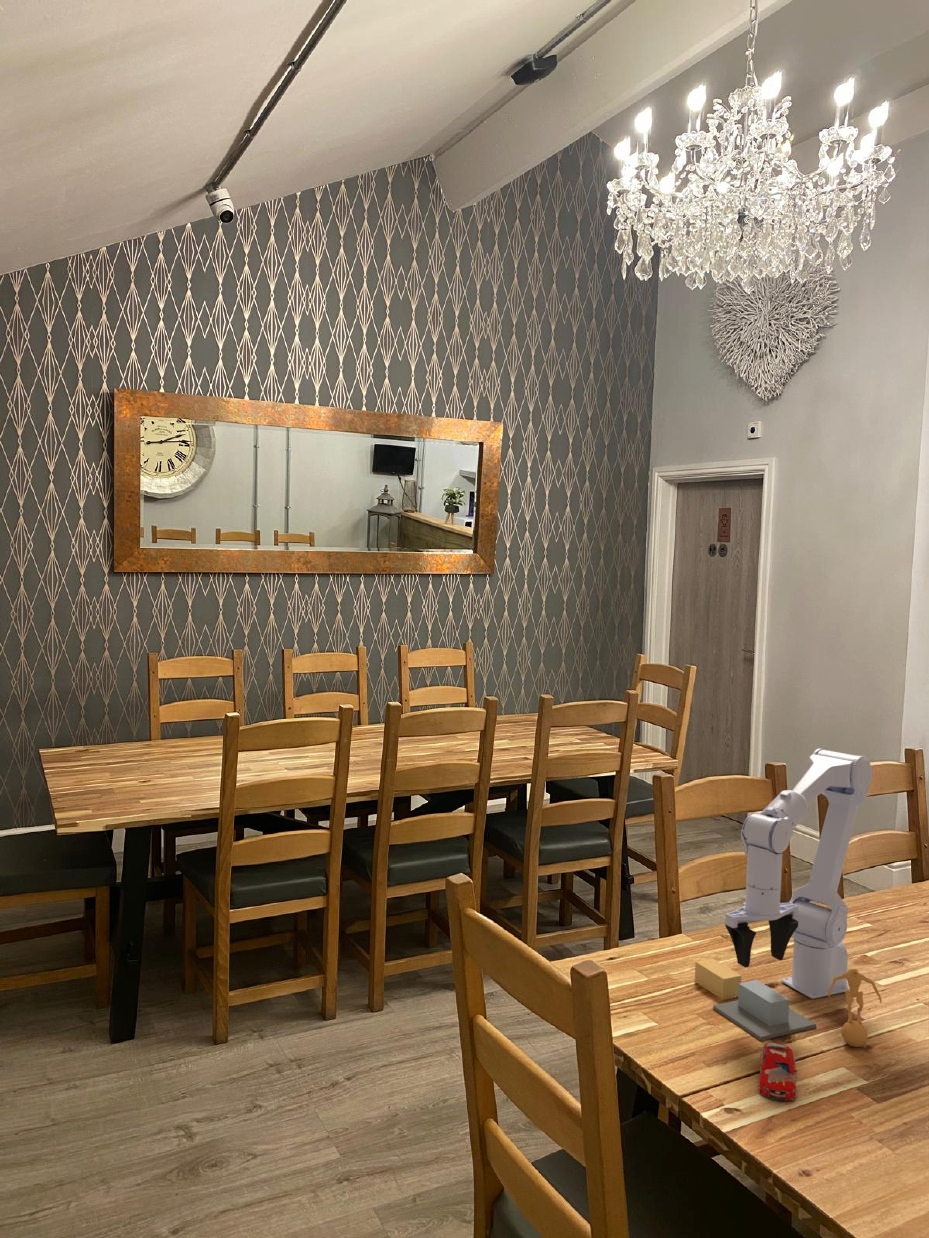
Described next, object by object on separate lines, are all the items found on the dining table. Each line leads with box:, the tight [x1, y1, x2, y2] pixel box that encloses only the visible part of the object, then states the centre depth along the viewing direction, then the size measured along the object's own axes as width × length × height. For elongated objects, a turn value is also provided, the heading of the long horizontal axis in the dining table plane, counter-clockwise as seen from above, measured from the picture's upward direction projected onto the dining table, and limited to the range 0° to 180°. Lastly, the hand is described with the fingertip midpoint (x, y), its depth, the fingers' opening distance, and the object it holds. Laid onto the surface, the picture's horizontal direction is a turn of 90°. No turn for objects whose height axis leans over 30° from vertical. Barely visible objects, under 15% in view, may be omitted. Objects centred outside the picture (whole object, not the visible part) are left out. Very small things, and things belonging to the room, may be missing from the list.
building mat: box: [712, 999, 817, 1041], centre depth 163 cm, size 12×12×1 cm
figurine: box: [827, 968, 882, 1048], centre depth 155 cm, size 8×6×12 cm
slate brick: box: [737, 979, 790, 1026], centre depth 163 cm, size 4×8×4 cm, turn 25°
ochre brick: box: [694, 958, 742, 1000], centre depth 174 cm, size 4×8×4 cm, turn 24°
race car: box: [758, 1042, 798, 1102], centre depth 143 cm, size 13×5×4 cm, turn 160°
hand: (760, 961), depth 164 cm, fingers open, 7 cm apart
